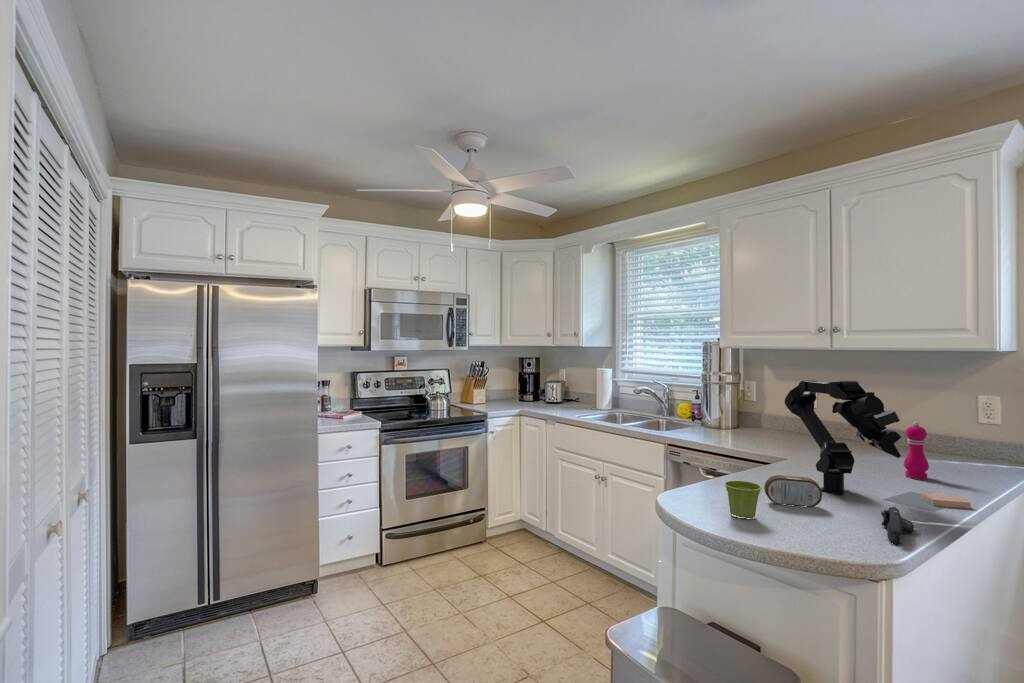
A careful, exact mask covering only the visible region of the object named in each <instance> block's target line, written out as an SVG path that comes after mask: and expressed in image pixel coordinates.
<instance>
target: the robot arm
mask: <svg viewBox="0 0 1024 683" xmlns="http://www.w3.org/2000/svg"><path fill="white" fill-rule="evenodd" d="M817 394H825V395H829V397H831V398H833V399H836V400H841V401H842V402H841V401H840V402H839V401H835V402H834V403H833V405H831V406H832V411H831V412H832V414H837V413H838V414H839V415H840V416H841V417H842V418H843V419H844V420H845V421H846V422H847V423H848V424H850V427H851V428H852V429H853V430H856V431H855V436H856V438H857V439H859V440H860V441H861V442H865V441H866V440H867V441H869V443H868V445H869V446H871V447H873V448H876V449H878V450H880V451H882V452H883V453H886V454H888V455H891V456H893V457H895V458H897V459H900V458H901V457H902V455H901V453H900V452H899V450H898V448H897V447H896V445H895V443H897V442H898V441H899V440H901V438H902V436H901V434H900V433H898V432H897V431H895V430H893V429H887V426H889V425H892V424H894V423H899V422H900V421H901V419H900V418H899V416H898V414H897V412H896V410H892V409H886V410H885V405H884V403H883V401H882V400H881V398H879V397H877V396H876V395H875V392H874V391H868V392H867V391H866V390H865V389H864V388H863V387H862V386H861V385H860V384H859V381H858V380H833V381H817V380H814V379H813V380H812V379H809V380H807V379H805V380H801V381H800V382H799V383H798V385H796V386H795V387H794V388H792V389H791V390H790V391H789V392H788V393H787V395H786V396H785V398H784V405H785V406H786V408H787V409H788V410H789V411H790V413H791V414H792V415H795V416H796V417H798V418H800V420H801V421H802V423H803V424H804V426H805V428H806V429H807V430H808V431H809V433H810V435H811V436H812V438H813V440H814V441H815V442H816V444H817V445H818V447H819V448H820V453H819V457H820V458H819V460H818V461H817V462H816V463H815V468H816V471H818V472H820V473H823V476H822V478H823V487H820V488H821V490H822V492H826V493H830V494H835V495H843V494H844V493H846V492H850V490H849V489H845V474H849V475H850V474H852V472H853V468H854V464H855V458H854V455H853V454H852V453H853V451H852V450H850V449H849V447H848V445H847V444H846V443H845V442H837V441H835V438H834V437H833V436H832V435H831V433H830V432H829V430H828V429H827V428H826V426H825V424H824V423H823V422H822V421H821V419H820V418H819V416H818V414H817V413H816V411H815V401H816V400H817Z"/></svg>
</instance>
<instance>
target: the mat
mask: <svg viewBox="0 0 1024 683" xmlns="http://www.w3.org/2000/svg"><path fill="white" fill-rule="evenodd" d="M882 501H886V502H890V503H895V504H899V505H903V506H907V507H912V508H916V509H921V510H926V511H929V512H933V513H934V512H936V511H939V510H943V509H945V508H946V507H942V506H933V505H931V504H930V503H928V502H926V501H925V500H923V499H922V493H918V492H914V491H907V492H904V493H900V494H896V495H894V496H889V497H887V498H883V499H882Z"/></svg>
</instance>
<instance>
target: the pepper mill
mask: <svg viewBox="0 0 1024 683" xmlns="http://www.w3.org/2000/svg"><path fill="white" fill-rule="evenodd" d="M905 436H906V437H907V438H906V439H907V440H906V441H907V444H908V452H907V454H906V456H905V458H904V460H903V467H904V468H905V469H906V470H905V471H904V472H905V474H904V476H905V477H906V476H907V477H906V478H908V477H910V478H909V479H912V478H916V479H915V480H921V479H924V480H927V479H928V473H926V472H927V471H929V469H930V466H929V465H930V464H929V461H928V459H927V457H926V455H925V453H924V445H926V443H925V442H926V440H925V439H926V438H927V430H926V429H925V428H924V427H922V426H920V423H919V422H918V421H914V422H913V423H912V425H911V426H908V427H907V428H906V429H905Z"/></svg>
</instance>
